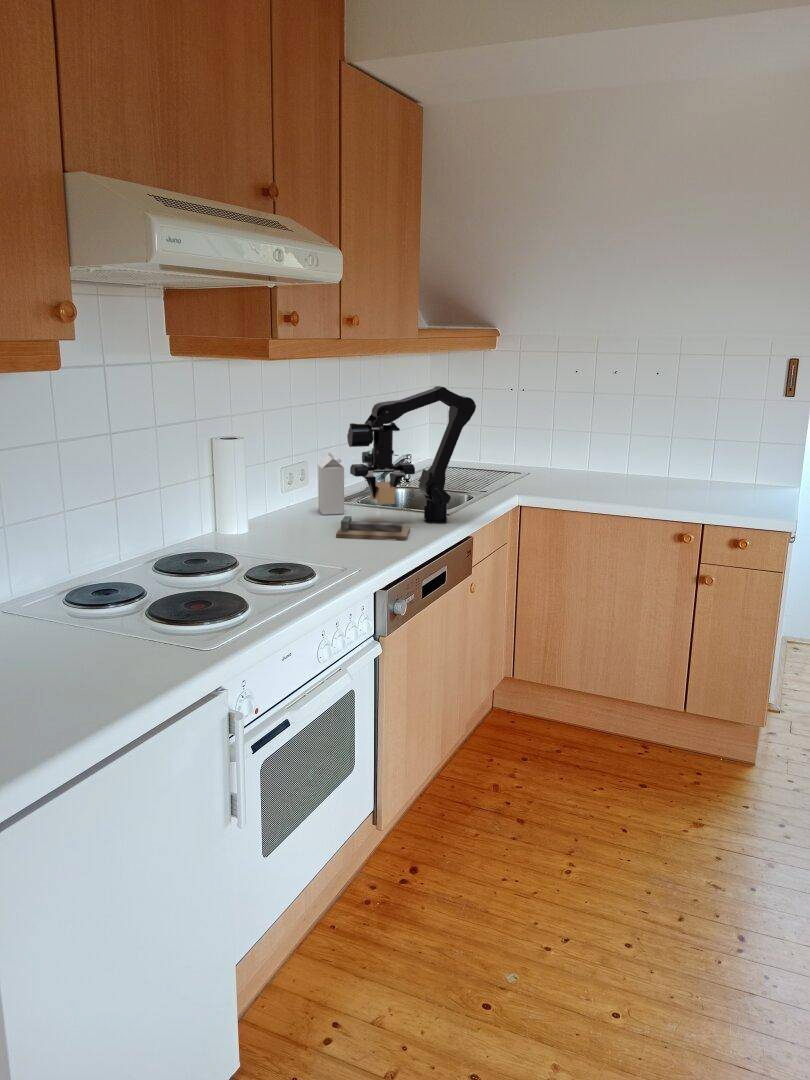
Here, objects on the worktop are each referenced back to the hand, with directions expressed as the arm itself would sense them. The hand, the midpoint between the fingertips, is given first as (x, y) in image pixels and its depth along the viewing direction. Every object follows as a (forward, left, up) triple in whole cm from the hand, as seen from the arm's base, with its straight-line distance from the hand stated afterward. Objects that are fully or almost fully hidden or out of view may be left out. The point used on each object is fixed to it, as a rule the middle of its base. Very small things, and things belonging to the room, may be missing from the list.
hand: (382, 497), depth 252 cm
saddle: (0, 0, -1) cm, 1 cm away
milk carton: (+18, -13, -8) cm, 24 cm away
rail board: (+1, +13, -8) cm, 15 cm away
